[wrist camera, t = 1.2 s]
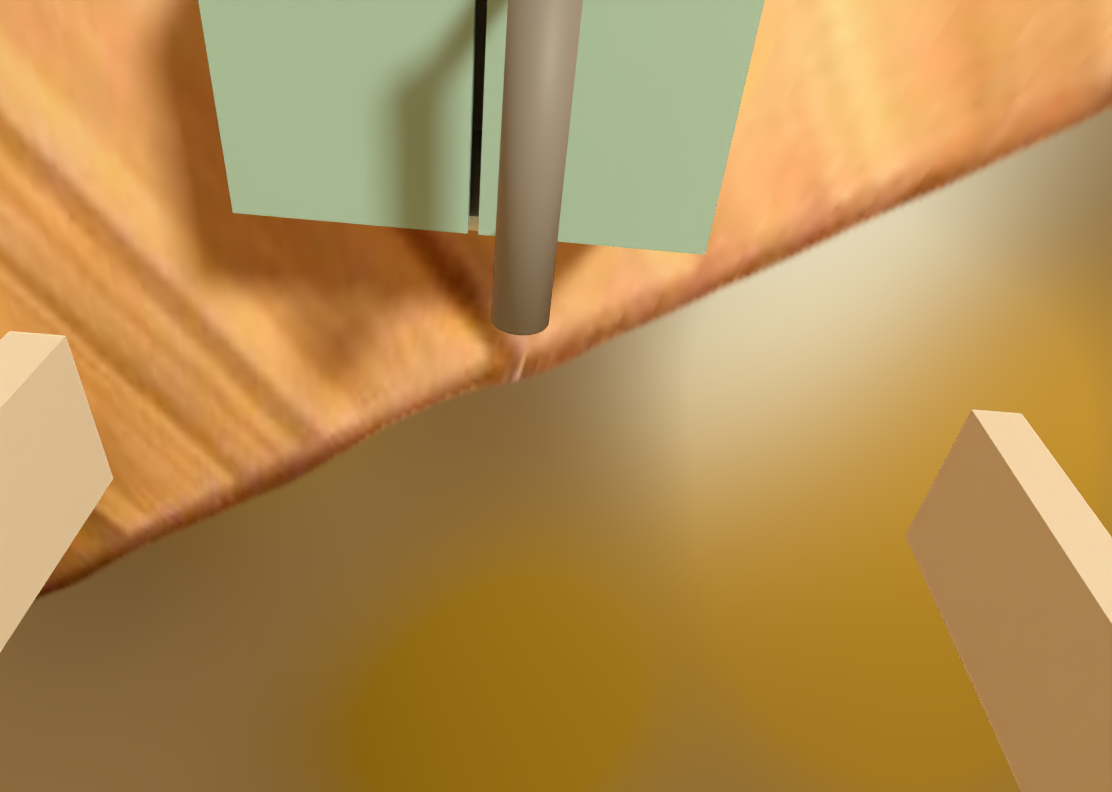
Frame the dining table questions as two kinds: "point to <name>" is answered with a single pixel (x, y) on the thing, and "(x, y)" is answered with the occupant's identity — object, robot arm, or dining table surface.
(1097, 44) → the dining table surface
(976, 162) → the dining table surface
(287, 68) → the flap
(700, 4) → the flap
